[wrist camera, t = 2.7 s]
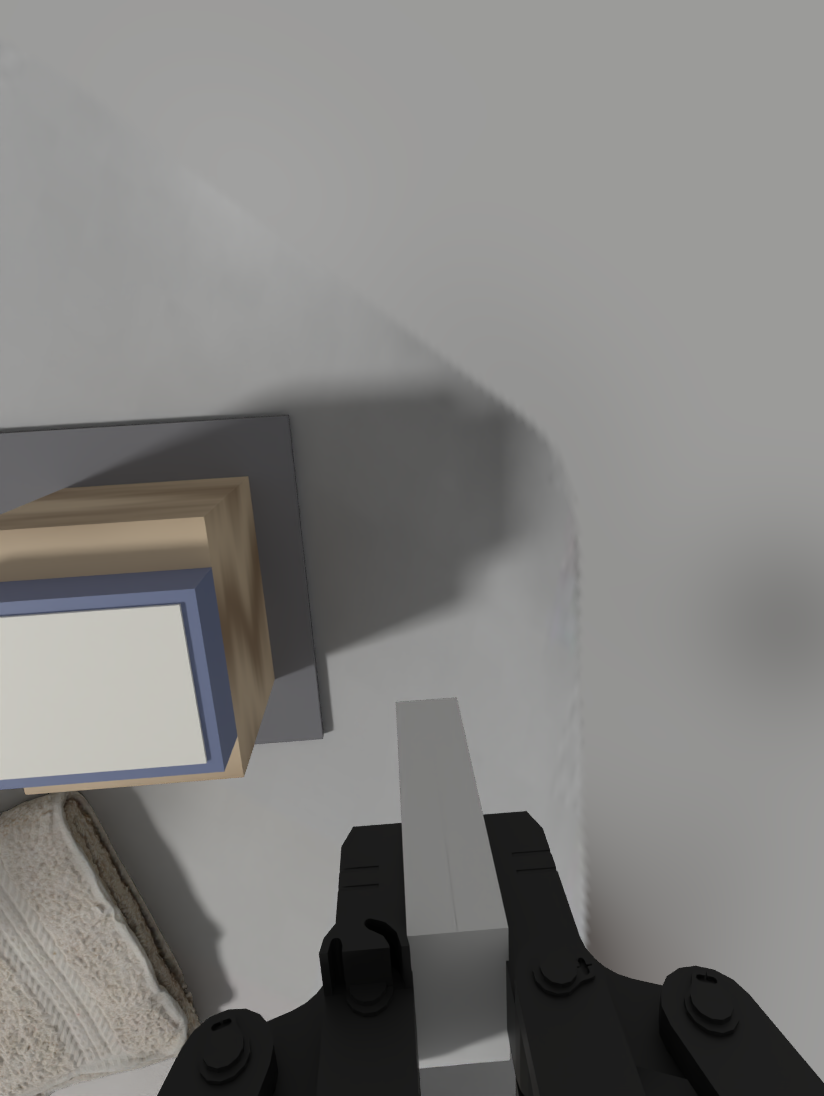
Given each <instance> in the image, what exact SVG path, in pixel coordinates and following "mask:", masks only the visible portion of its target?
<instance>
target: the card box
mask: <svg viewBox="0 0 824 1096" xmlns="http://www.w3.org/2000/svg"><path fill="white" fill-rule="evenodd" d="M236 739H237V729H236V723H235V716H234V710H233V703H232V696H231V690H230V683H229V677H228V670H227V664H226V657H225V651H224V644H223V638H222V631H221V625H220V618H219V612H218V605H217V599H216V592H215V586H214V579H213V573H212V567H209V568H195V569H180V570H166V571H151V572H137V573H123V574H108V575H94V576H79V577H65V578H51V579H36V580H22V581H7V582H0V790H3V789H16V788H28V787H41V786H53V785H65V784H78V783H90V782H102V781H115V780H127V779H140V778H152V777H164V776H177V775H189V774H202V773H214V772H225V769H226V766H227V764H228V761H229V758H230V755H231V753H232V750H233V747H234V745H235V742H236Z"/></svg>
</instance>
